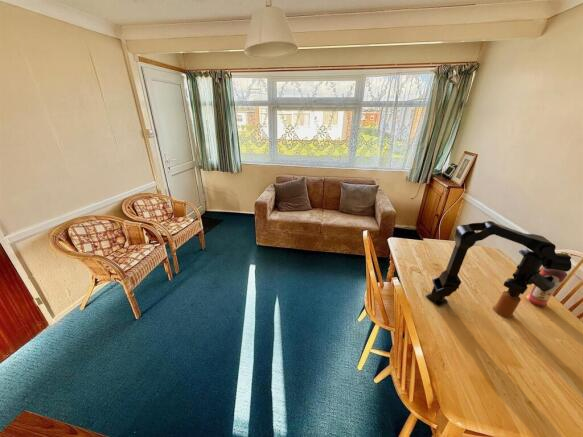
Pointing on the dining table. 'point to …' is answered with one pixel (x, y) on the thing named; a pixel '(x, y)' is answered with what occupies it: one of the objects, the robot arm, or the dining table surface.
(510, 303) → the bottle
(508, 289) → the cap
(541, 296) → the liquor
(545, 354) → the dining table surface
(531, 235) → the robot arm
